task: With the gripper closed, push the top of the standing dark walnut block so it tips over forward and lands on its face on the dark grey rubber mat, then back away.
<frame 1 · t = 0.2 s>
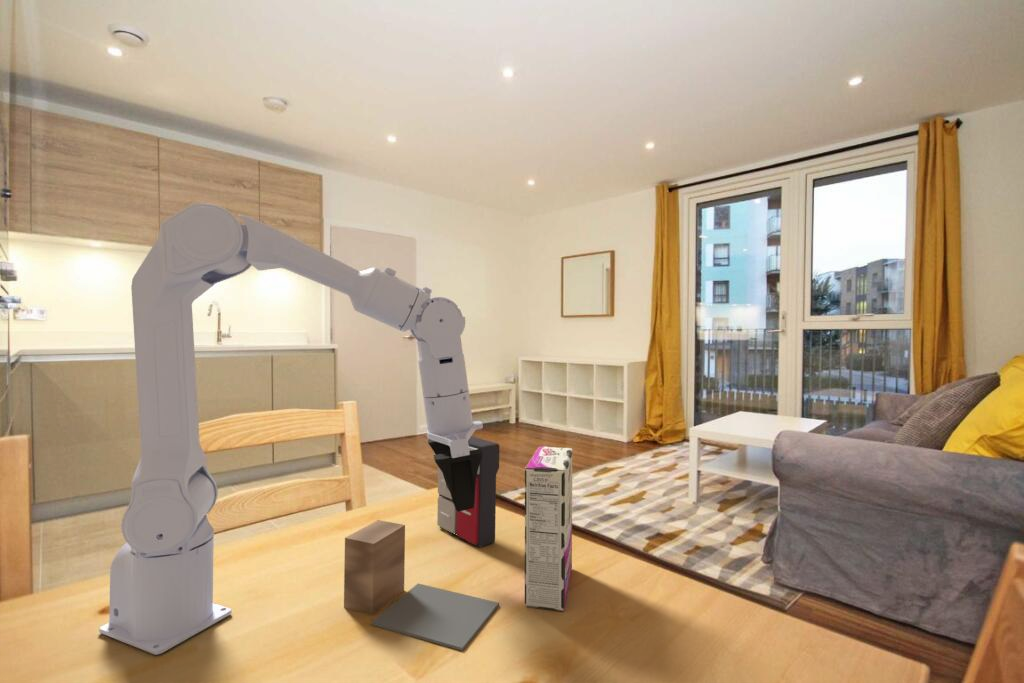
hand: (460, 498, 62), 10 cm above the table, tool pointing down, fingers open, 7 cm apart
walnut block: (375, 598, 57), on the table
calculator: (465, 536, 76), on the table
candy bar box: (548, 588, 61), on the table
mat: (437, 614, 54), on the table
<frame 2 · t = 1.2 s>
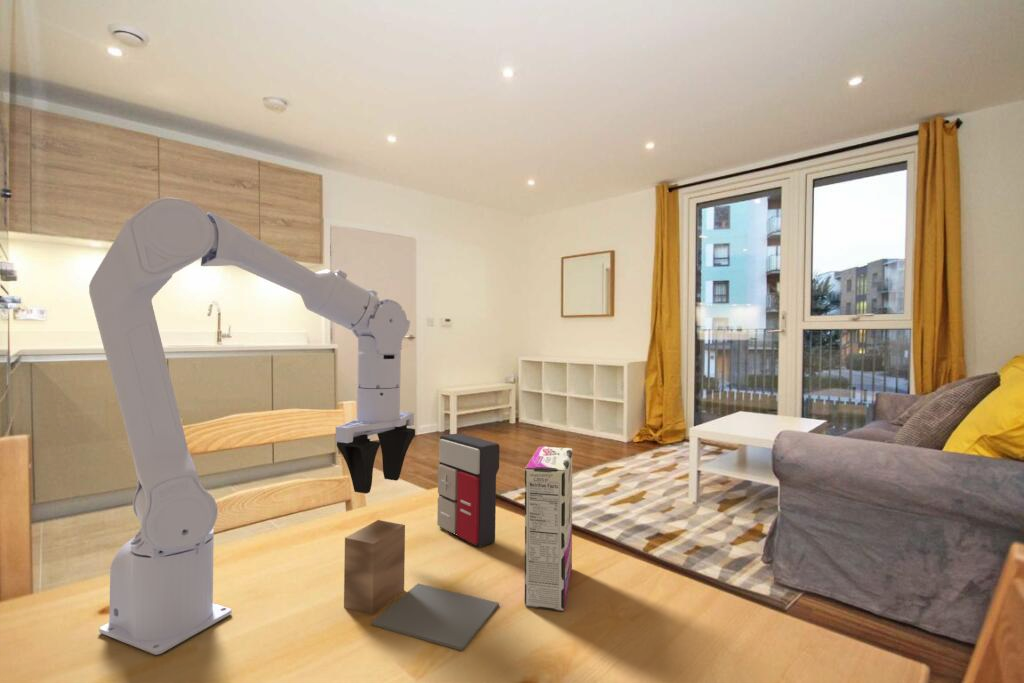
hand: (377, 485, 67), 10 cm above the table, tool pointing down, fingers open, 6 cm apart
nothing on the table moved.
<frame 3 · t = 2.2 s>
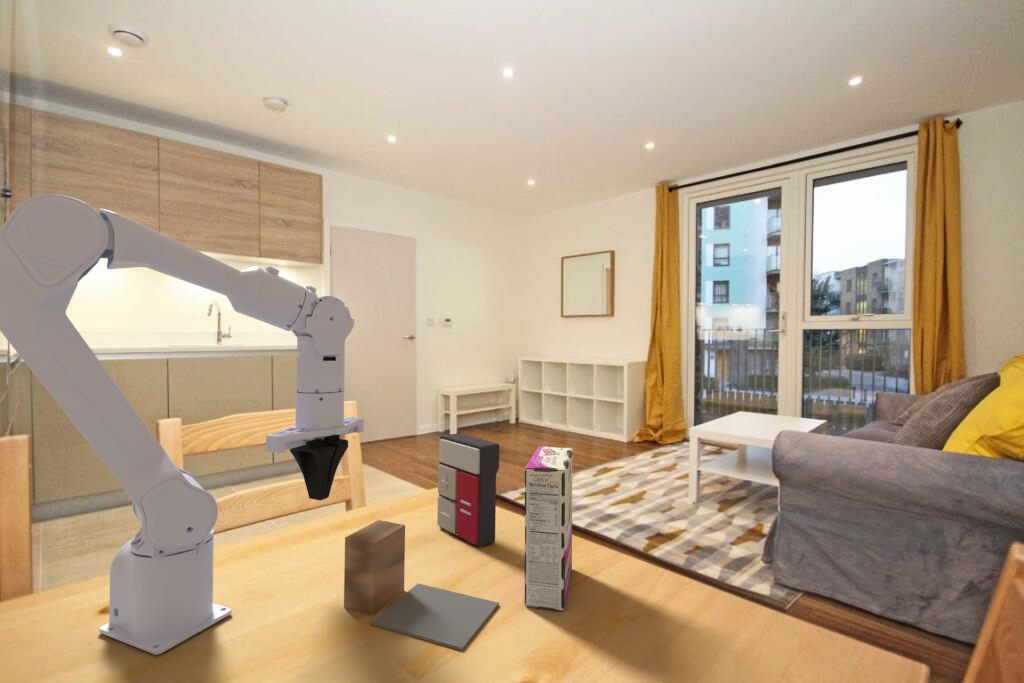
hand: (318, 497, 62), 10 cm above the table, tool pointing down, fingers closed
nothing on the table moved.
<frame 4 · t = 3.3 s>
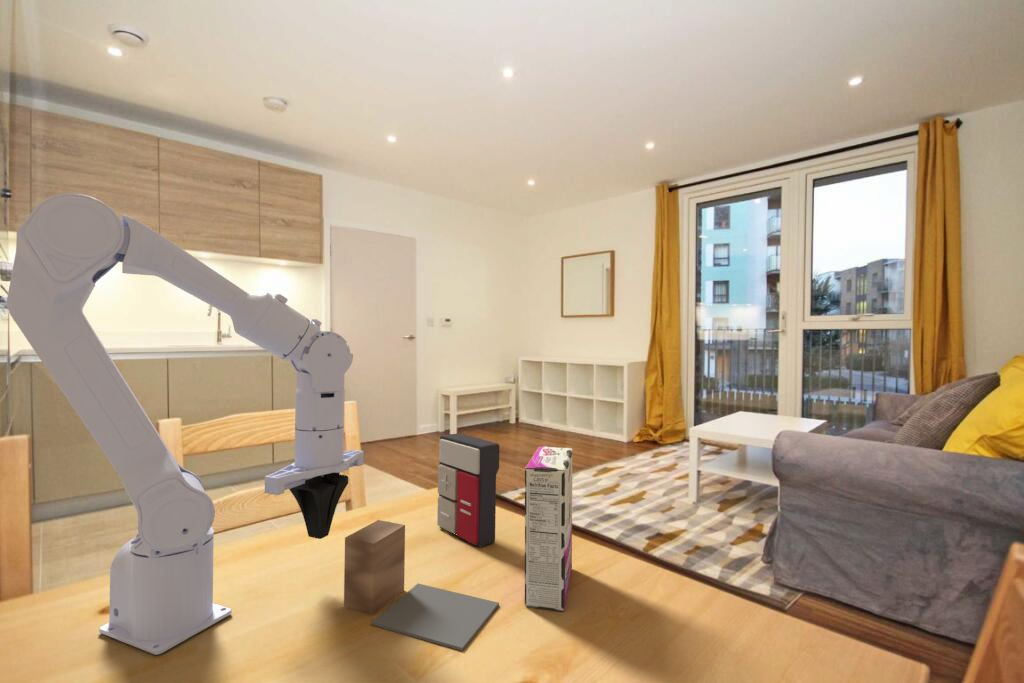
hand: (318, 535, 61), 6 cm above the table, tool pointing down, fingers closed
nothing on the table moved.
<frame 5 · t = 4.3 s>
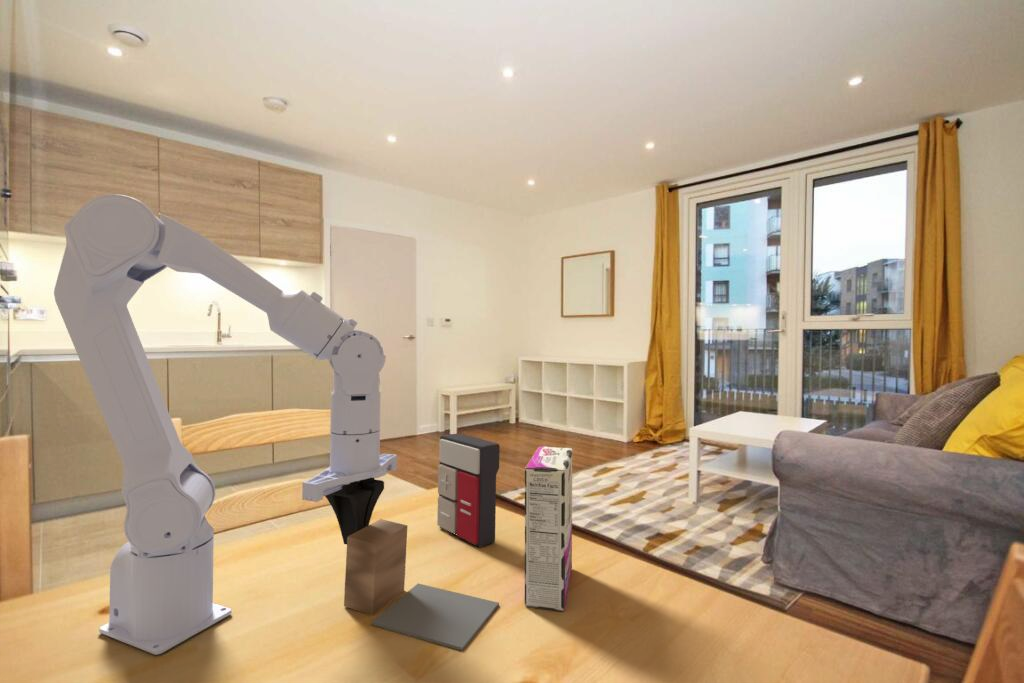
hand: (354, 543, 59), 6 cm above the table, tool pointing down, fingers closed
walnut block: (375, 597, 57), on the table, touching gripper
everything else where it was.
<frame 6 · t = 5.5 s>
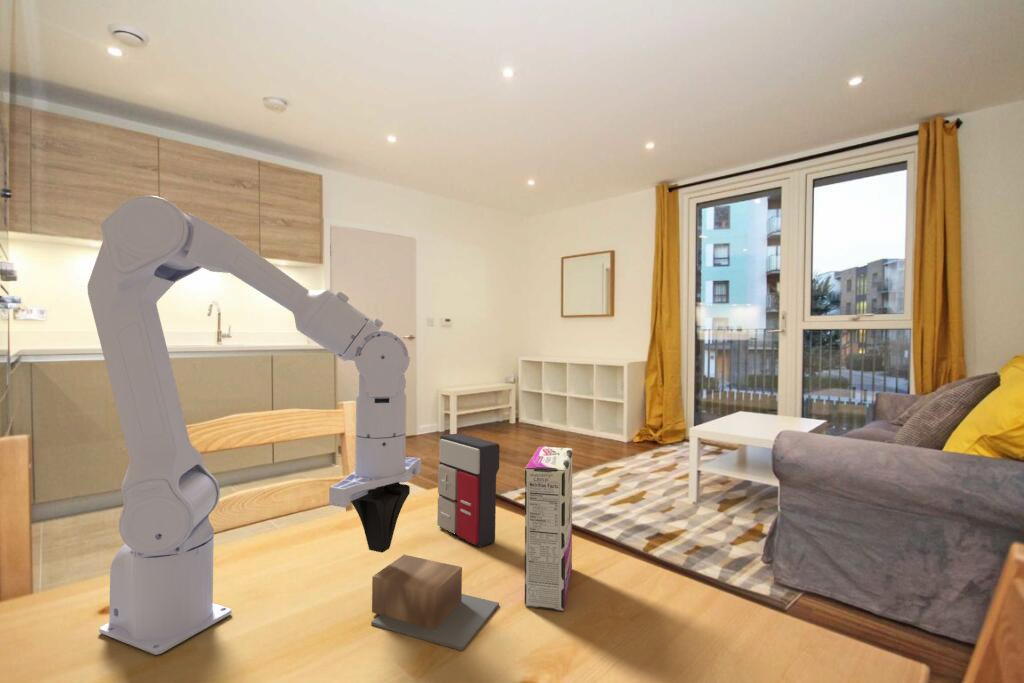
hand: (379, 549, 57), 6 cm above the table, tool pointing down, fingers closed
walnut block: (388, 582, 57), point 2 cm above the table, tilted 90°, touching mat
everything else where it was.
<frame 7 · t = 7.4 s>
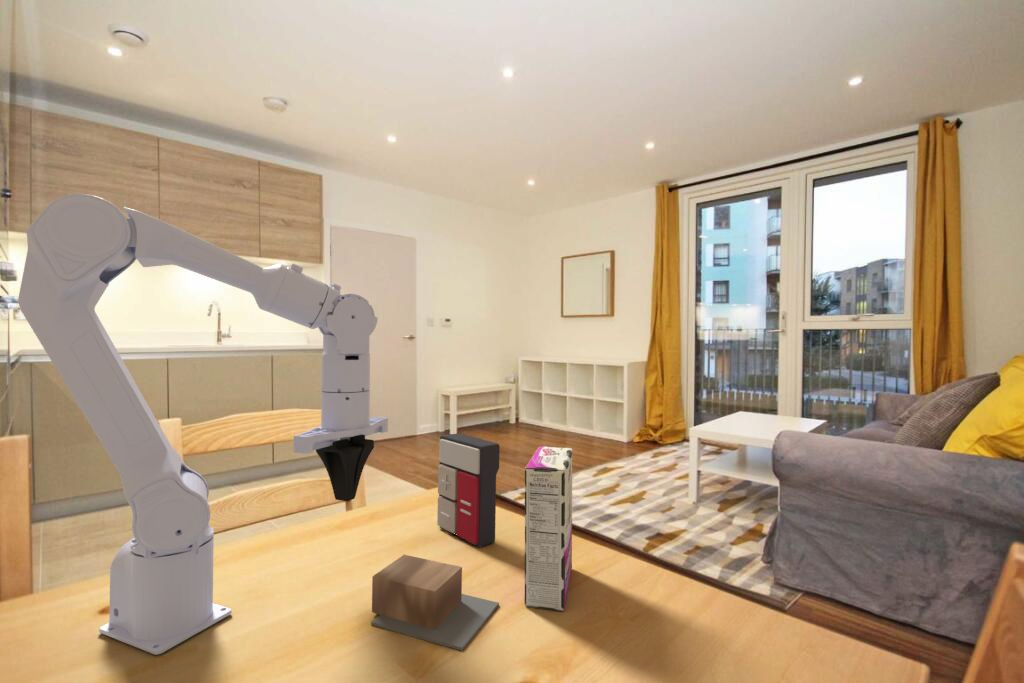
hand: (345, 498, 61), 11 cm above the table, tool pointing down, fingers closed
nothing on the table moved.
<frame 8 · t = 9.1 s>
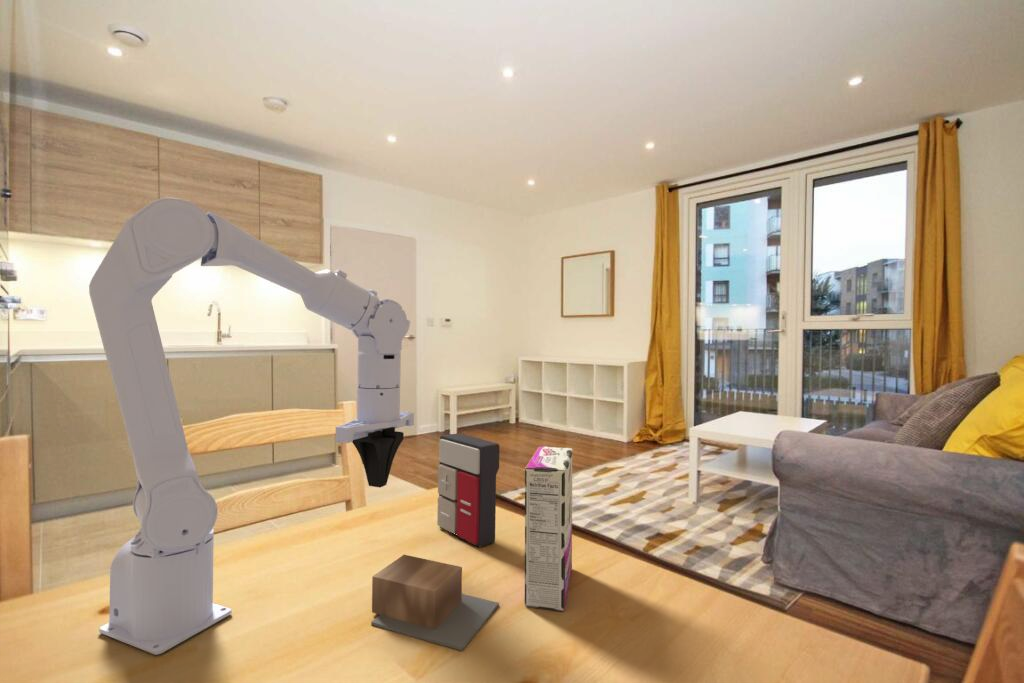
hand: (377, 485, 67), 10 cm above the table, tool pointing down, fingers closed
nothing on the table moved.
at the end: walnut block tilted 90°; walnut block inside the target area (6.1 cm from its centre), point 2.3 cm above the table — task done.
